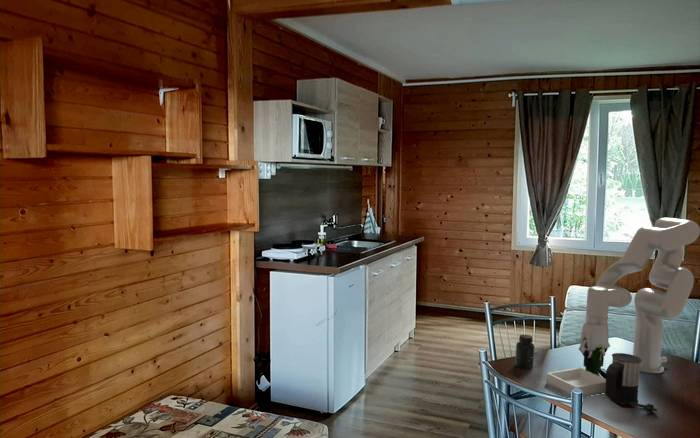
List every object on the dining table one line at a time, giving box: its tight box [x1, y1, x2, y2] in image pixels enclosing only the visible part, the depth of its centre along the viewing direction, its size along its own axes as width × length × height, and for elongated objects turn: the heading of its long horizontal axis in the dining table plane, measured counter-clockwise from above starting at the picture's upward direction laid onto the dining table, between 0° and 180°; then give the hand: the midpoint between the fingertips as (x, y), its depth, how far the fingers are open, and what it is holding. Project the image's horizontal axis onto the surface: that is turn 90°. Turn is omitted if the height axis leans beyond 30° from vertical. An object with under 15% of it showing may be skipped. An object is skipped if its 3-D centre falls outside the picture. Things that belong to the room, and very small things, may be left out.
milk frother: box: [605, 352, 658, 414], centre depth 184 cm, size 14×16×15 cm
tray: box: [545, 367, 606, 399], centre depth 197 cm, size 16×14×4 cm
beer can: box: [584, 344, 602, 376], centre depth 212 cm, size 5×5×12 cm
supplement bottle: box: [514, 334, 535, 370], centre depth 217 cm, size 7×7×12 cm
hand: (593, 365), depth 212 cm, fingers closed on beer can, 5 cm apart
